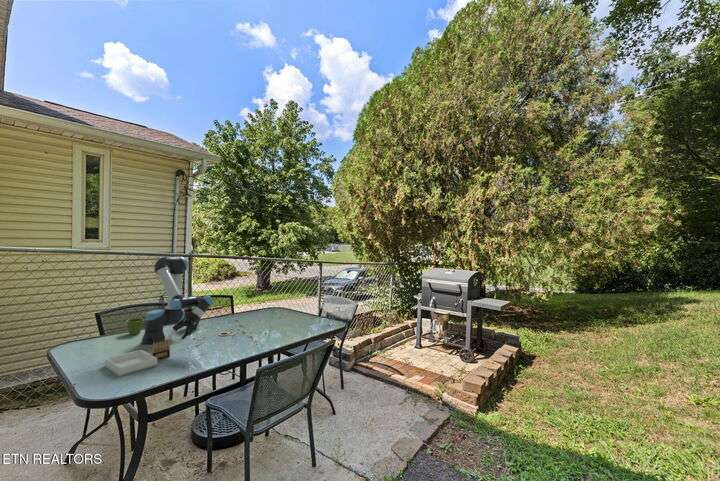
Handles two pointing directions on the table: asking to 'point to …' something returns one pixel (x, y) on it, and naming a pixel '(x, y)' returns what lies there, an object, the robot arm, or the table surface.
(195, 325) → the plant pot
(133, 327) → the plant pot
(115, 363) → the box
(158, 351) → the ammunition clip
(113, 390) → the table surface
